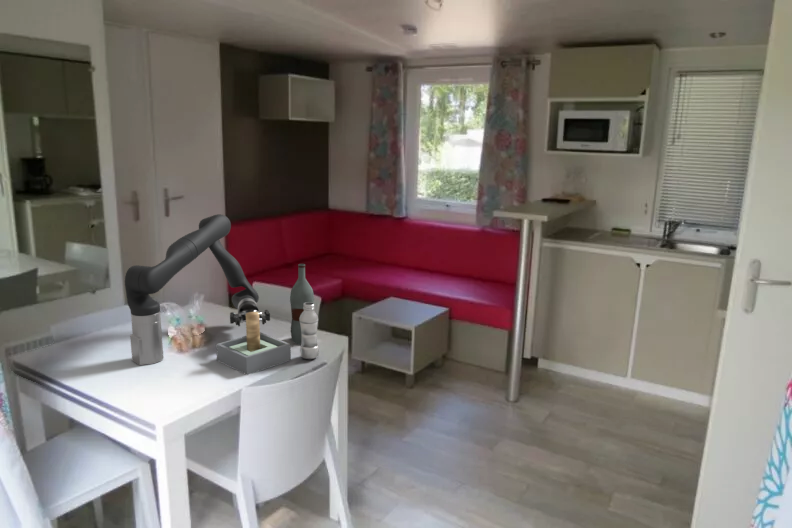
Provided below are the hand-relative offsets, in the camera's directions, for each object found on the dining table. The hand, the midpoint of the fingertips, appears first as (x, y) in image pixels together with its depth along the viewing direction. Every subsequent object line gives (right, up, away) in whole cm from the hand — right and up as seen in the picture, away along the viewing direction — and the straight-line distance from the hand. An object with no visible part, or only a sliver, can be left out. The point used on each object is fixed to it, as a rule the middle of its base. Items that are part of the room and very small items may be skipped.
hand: (251, 322), depth 203 cm
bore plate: (+2, -13, -4) cm, 14 cm away
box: (+2, -13, -4) cm, 14 cm away
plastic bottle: (+21, -13, -1) cm, 25 cm away
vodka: (+16, -9, +17) cm, 24 cm away
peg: (+2, -12, -5) cm, 13 cm away
